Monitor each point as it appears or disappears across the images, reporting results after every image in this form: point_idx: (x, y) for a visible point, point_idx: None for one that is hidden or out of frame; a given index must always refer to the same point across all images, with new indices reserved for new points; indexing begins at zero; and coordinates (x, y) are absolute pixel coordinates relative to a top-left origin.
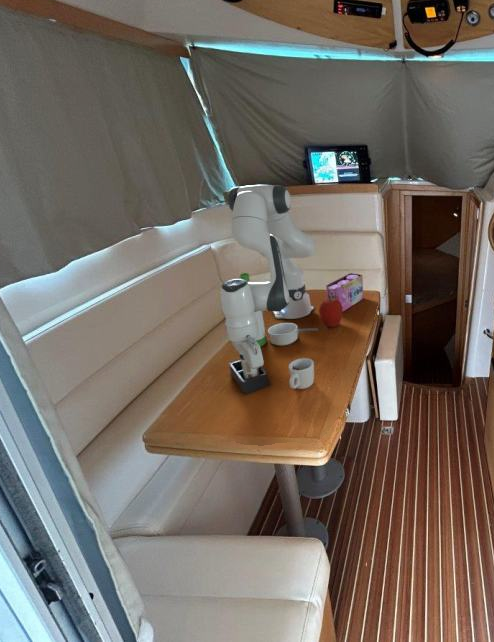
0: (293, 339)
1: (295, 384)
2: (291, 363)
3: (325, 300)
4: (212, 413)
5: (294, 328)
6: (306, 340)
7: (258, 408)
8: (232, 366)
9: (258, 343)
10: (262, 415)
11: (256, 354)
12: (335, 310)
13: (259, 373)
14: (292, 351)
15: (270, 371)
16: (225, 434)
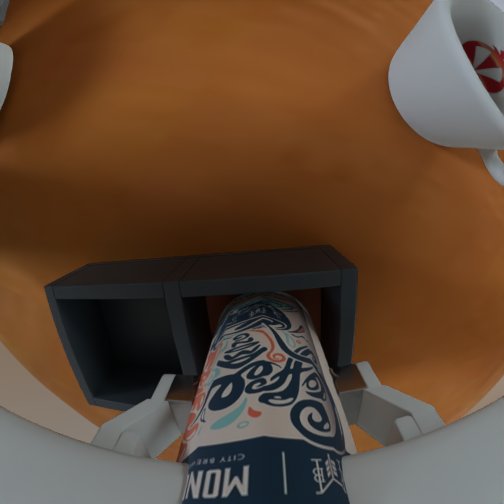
0: (6, 53)
1: (494, 154)
2: (485, 90)
3: None
4: (356, 443)
5: None
6: (36, 15)
7: (452, 327)
8: (122, 406)
9: None
10: (485, 319)
11: (411, 469)
12: None
13: (265, 298)
14: (61, 59)
15: (175, 194)
16: (462, 406)
